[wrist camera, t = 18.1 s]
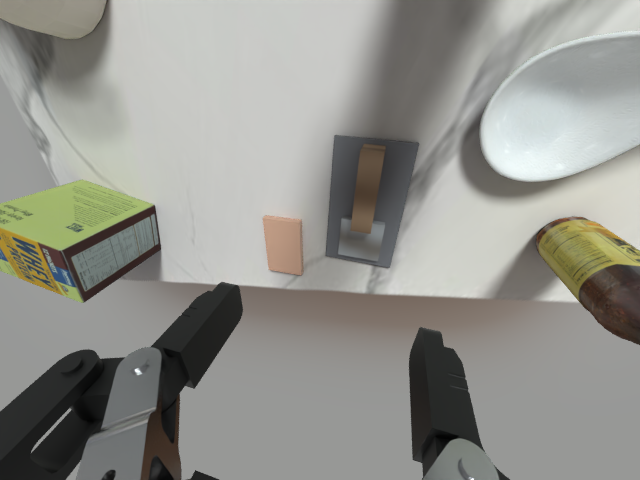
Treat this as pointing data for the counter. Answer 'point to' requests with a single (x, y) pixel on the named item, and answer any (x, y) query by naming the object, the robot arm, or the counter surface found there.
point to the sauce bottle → (596, 271)
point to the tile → (284, 244)
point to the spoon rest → (565, 109)
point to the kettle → (54, 16)
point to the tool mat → (389, 192)
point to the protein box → (76, 238)
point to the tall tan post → (364, 209)
